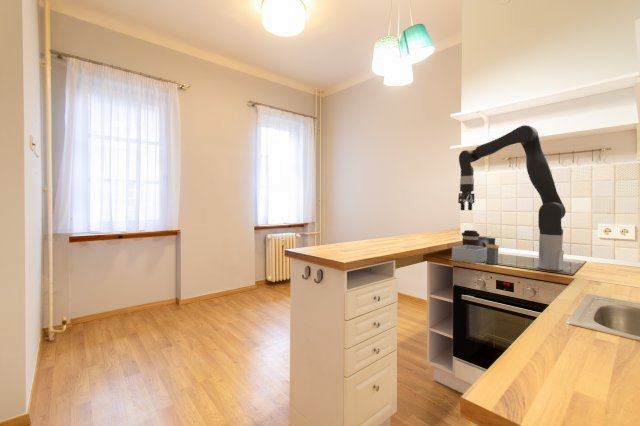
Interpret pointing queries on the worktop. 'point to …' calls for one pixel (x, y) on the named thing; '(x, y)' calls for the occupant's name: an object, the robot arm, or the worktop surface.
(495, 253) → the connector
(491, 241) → the small box
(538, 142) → the robot arm
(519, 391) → the worktop surface
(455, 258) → the walled box
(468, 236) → the coffee cup
